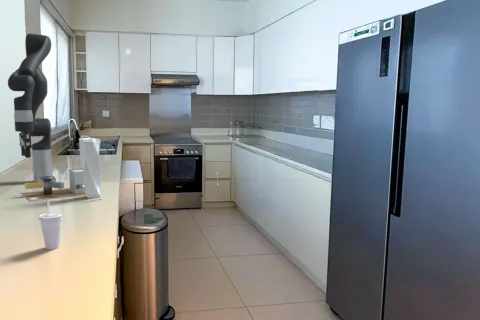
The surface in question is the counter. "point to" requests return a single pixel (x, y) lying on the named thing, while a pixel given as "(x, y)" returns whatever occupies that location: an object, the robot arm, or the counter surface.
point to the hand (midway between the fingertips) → (26, 156)
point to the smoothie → (51, 228)
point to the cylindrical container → (82, 153)
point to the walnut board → (55, 194)
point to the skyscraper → (92, 167)
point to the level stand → (77, 181)
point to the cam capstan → (45, 184)
